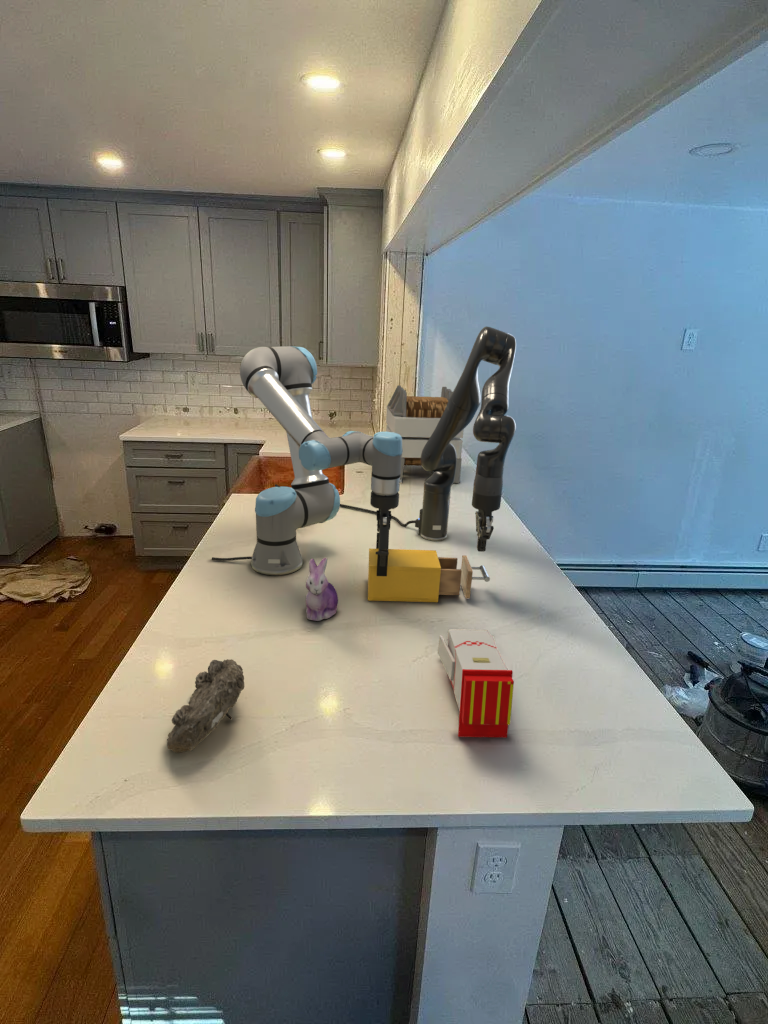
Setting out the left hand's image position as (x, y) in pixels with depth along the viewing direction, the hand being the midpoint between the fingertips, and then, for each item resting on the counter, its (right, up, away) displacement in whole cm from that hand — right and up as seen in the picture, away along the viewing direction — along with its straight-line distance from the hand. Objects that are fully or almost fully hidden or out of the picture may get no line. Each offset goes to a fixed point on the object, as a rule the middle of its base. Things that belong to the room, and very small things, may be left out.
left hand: (381, 564), depth 157 cm
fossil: (-32, -25, -48) cm, 63 cm away
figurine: (-15, -12, -10) cm, 22 cm away
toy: (+19, -23, -38) cm, 48 cm away
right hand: (+27, +4, -1) cm, 28 cm away
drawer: (+18, -7, +3) cm, 20 cm away
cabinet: (+6, -8, +3) cm, 10 cm away
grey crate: (+18, +33, +118) cm, 124 cm away
